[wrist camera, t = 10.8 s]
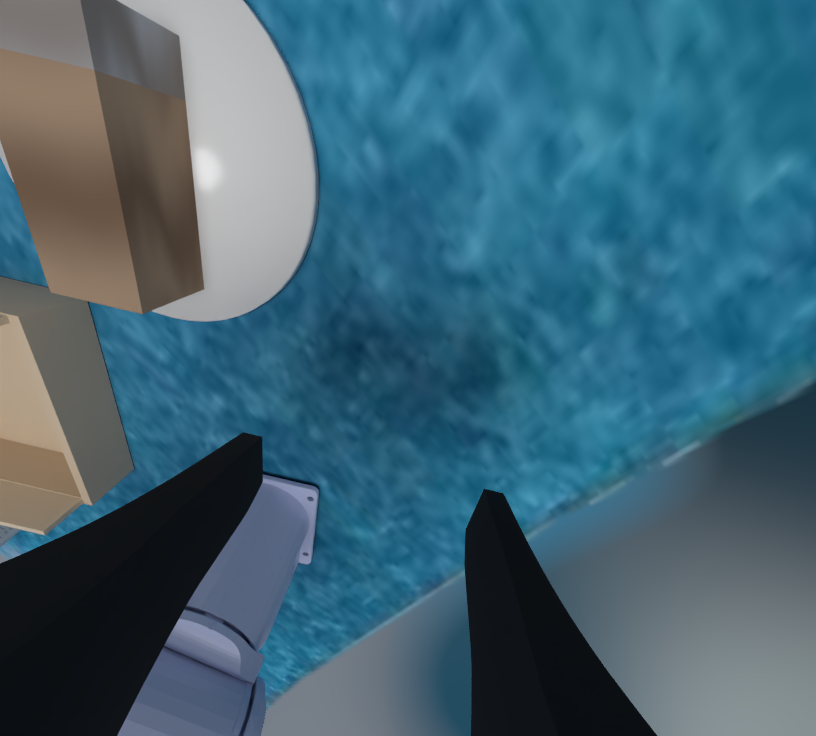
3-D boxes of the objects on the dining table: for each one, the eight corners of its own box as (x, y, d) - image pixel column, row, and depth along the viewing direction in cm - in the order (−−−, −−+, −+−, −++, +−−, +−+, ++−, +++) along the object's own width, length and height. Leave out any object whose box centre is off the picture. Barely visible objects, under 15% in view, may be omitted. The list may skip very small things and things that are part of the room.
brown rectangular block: (204, 289, 18) (142, 314, 14) (130, 272, 18) (50, 292, 14) (179, 36, 13) (75, -23, 9) (77, 12, 13) (-65, -56, 9)
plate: (309, 342, 19) (304, 348, 19) (57, 283, 19) (42, 287, 19) (333, -29, 12) (325, -42, 11) (-71, -121, 12) (-103, -141, 11)
